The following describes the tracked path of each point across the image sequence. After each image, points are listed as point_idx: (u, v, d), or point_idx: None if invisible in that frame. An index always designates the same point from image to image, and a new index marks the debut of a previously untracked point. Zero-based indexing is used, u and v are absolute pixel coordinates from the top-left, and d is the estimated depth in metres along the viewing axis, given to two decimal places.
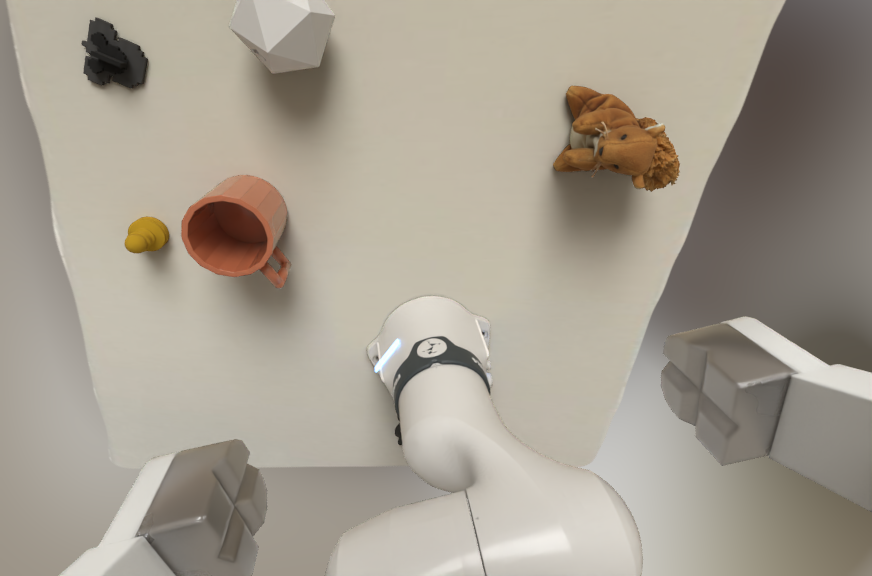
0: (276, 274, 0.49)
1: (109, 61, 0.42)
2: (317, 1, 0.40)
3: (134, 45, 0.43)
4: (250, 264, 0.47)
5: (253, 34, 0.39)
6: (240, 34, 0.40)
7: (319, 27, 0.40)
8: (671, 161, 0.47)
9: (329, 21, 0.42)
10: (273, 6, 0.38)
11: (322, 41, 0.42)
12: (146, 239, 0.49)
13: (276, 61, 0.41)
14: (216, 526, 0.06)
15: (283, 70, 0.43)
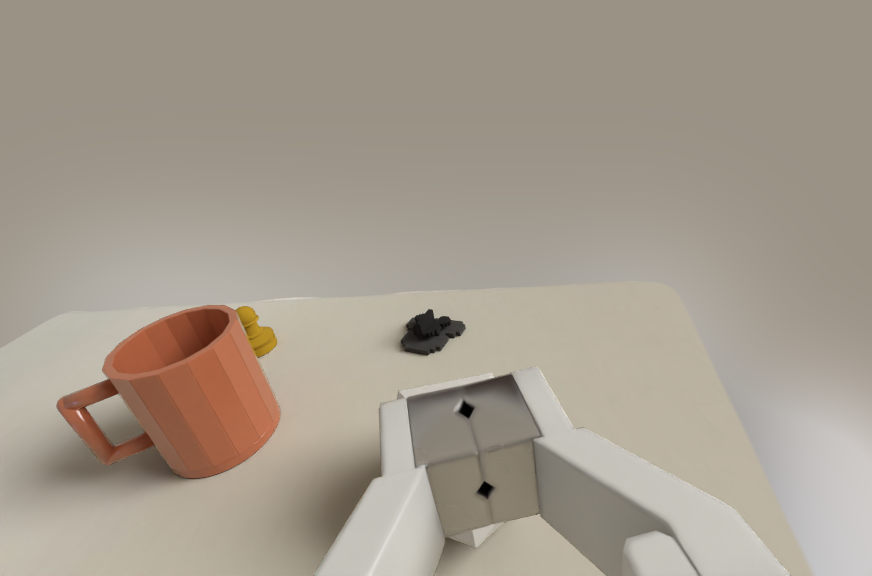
0: (83, 399, 0.29)
1: (422, 318, 0.41)
2: None
3: (440, 344, 0.40)
4: (125, 369, 0.31)
5: None
6: None
7: None
8: None
9: None
10: None
11: None
12: (245, 324, 0.43)
13: None
14: (479, 461, 0.07)
15: None
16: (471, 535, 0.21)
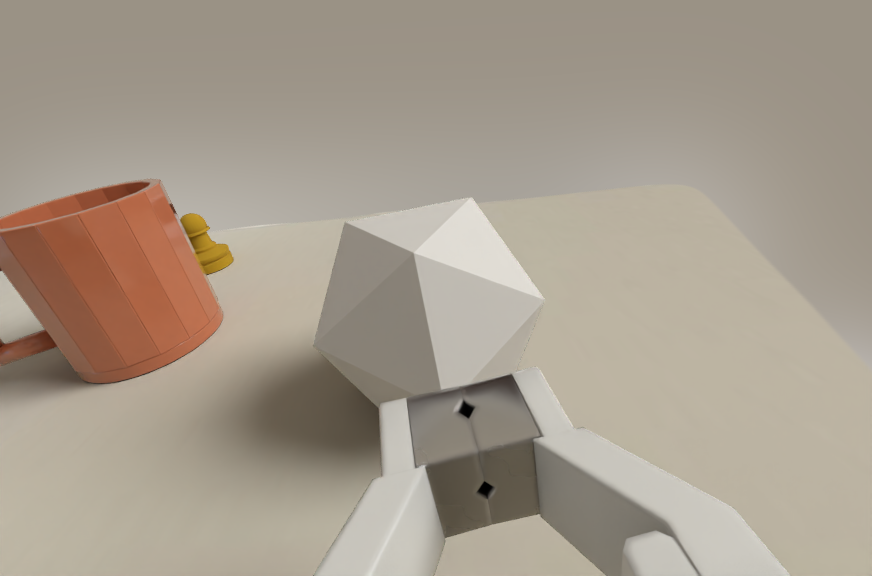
0: None
1: None
2: (460, 327, 0.14)
3: None
4: None
5: None
6: None
7: (393, 315, 0.14)
8: None
9: (420, 374, 0.14)
10: (429, 217, 0.16)
11: (370, 348, 0.15)
12: (192, 233, 0.37)
13: None
14: (480, 460, 0.07)
15: None
16: None
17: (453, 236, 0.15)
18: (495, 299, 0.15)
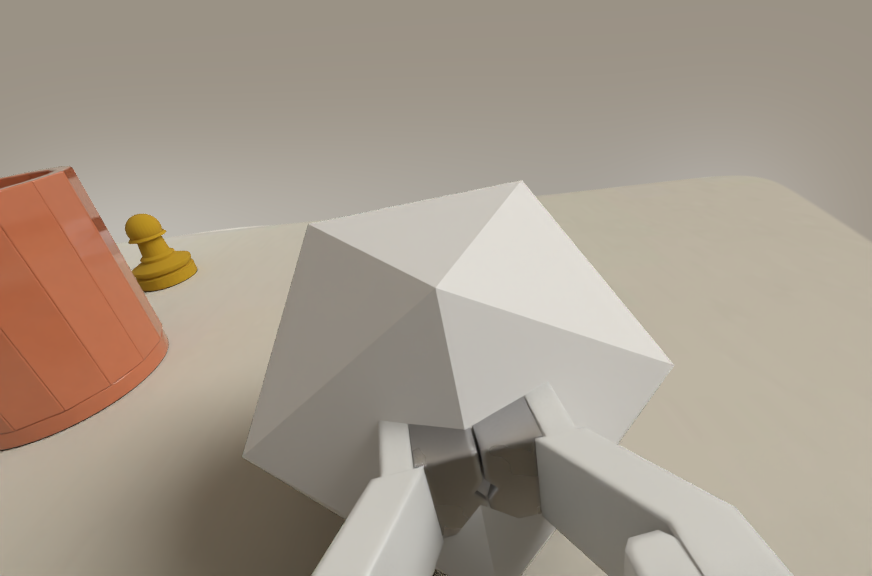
0: None
1: None
2: None
3: None
4: None
5: None
6: None
7: (393, 412, 0.07)
8: None
9: None
10: (455, 215, 0.09)
11: (348, 471, 0.08)
12: (141, 238, 0.30)
13: None
14: (478, 461, 0.07)
15: None
16: (487, 564, 0.07)
17: (505, 248, 0.08)
18: (591, 373, 0.08)
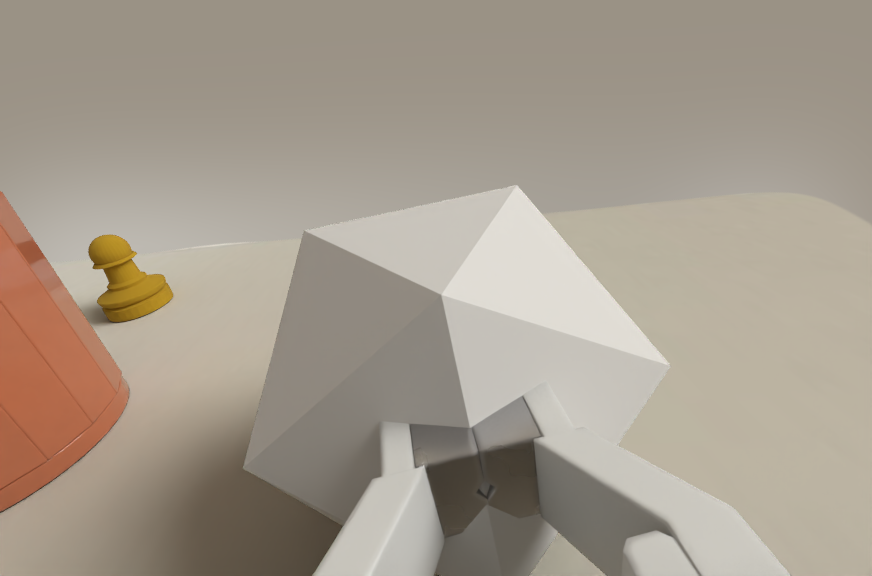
0: None
1: None
2: None
3: None
4: None
5: None
6: None
7: (399, 420, 0.07)
8: None
9: (457, 536, 0.07)
10: (454, 221, 0.09)
11: (352, 480, 0.07)
12: (107, 263, 0.26)
13: None
14: (479, 461, 0.07)
15: None
16: (494, 569, 0.07)
17: (505, 254, 0.08)
18: (592, 375, 0.08)
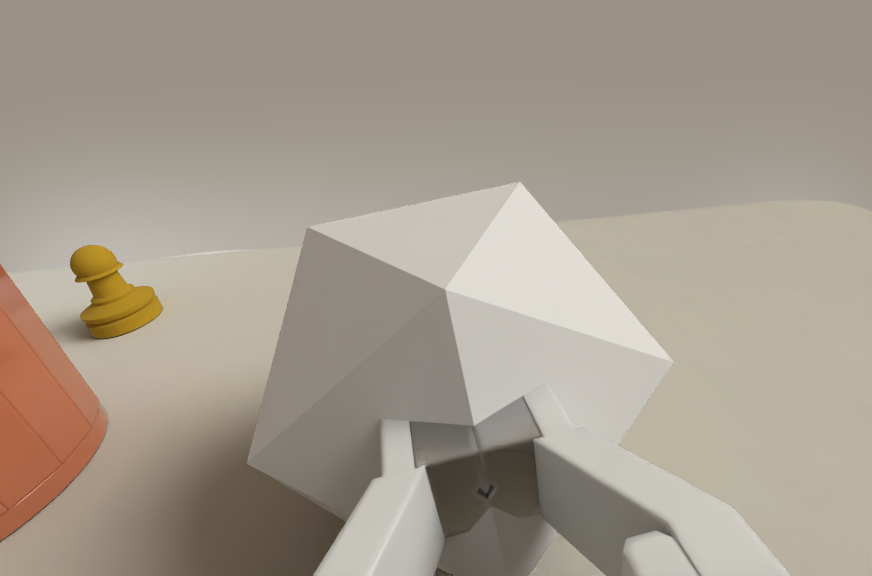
0: None
1: None
2: None
3: None
4: None
5: None
6: None
7: (402, 414, 0.07)
8: None
9: None
10: (457, 217, 0.09)
11: (356, 475, 0.07)
12: (90, 276, 0.24)
13: None
14: (479, 460, 0.07)
15: None
16: (498, 563, 0.07)
17: (509, 250, 0.08)
18: (596, 371, 0.08)
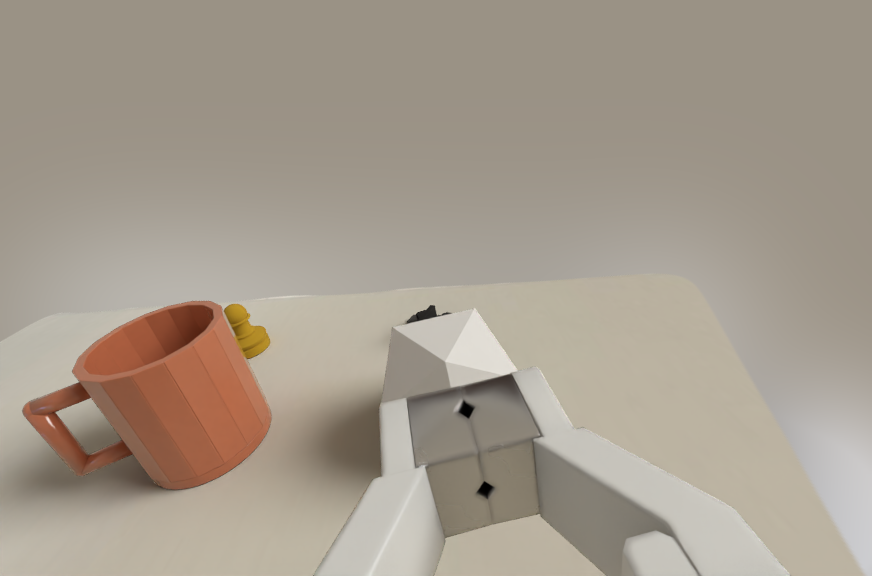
0: (51, 404, 0.26)
1: (423, 315, 0.38)
2: None
3: None
4: (100, 370, 0.28)
5: None
6: None
7: None
8: None
9: None
10: (449, 328, 0.25)
11: None
12: (235, 323, 0.41)
13: None
14: (479, 461, 0.07)
15: None
16: None
17: (466, 343, 0.24)
18: None
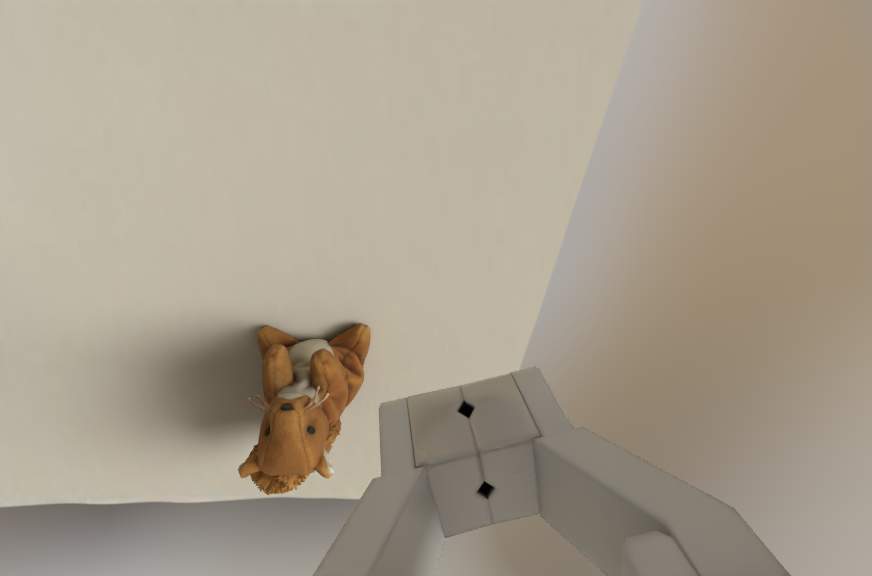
0: None
1: None
2: None
3: None
4: None
5: None
6: None
7: None
8: (287, 485, 0.35)
9: None
10: None
11: None
12: None
13: None
14: (479, 461, 0.07)
15: None
16: None
17: None
18: None
